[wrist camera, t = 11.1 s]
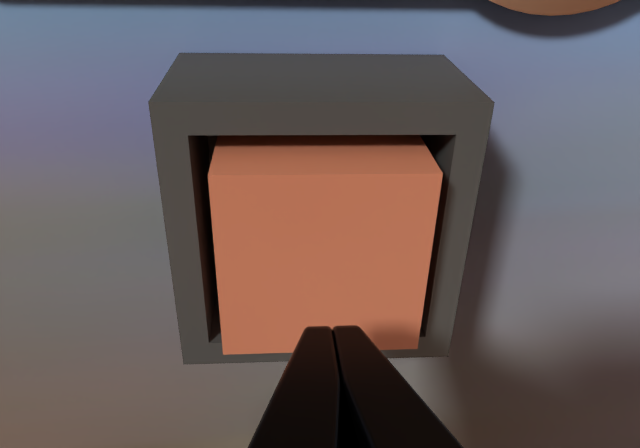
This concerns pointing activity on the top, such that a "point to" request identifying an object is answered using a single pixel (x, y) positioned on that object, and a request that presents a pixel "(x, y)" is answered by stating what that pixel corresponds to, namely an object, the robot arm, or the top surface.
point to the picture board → (553, 6)
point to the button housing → (312, 119)
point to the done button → (321, 236)
